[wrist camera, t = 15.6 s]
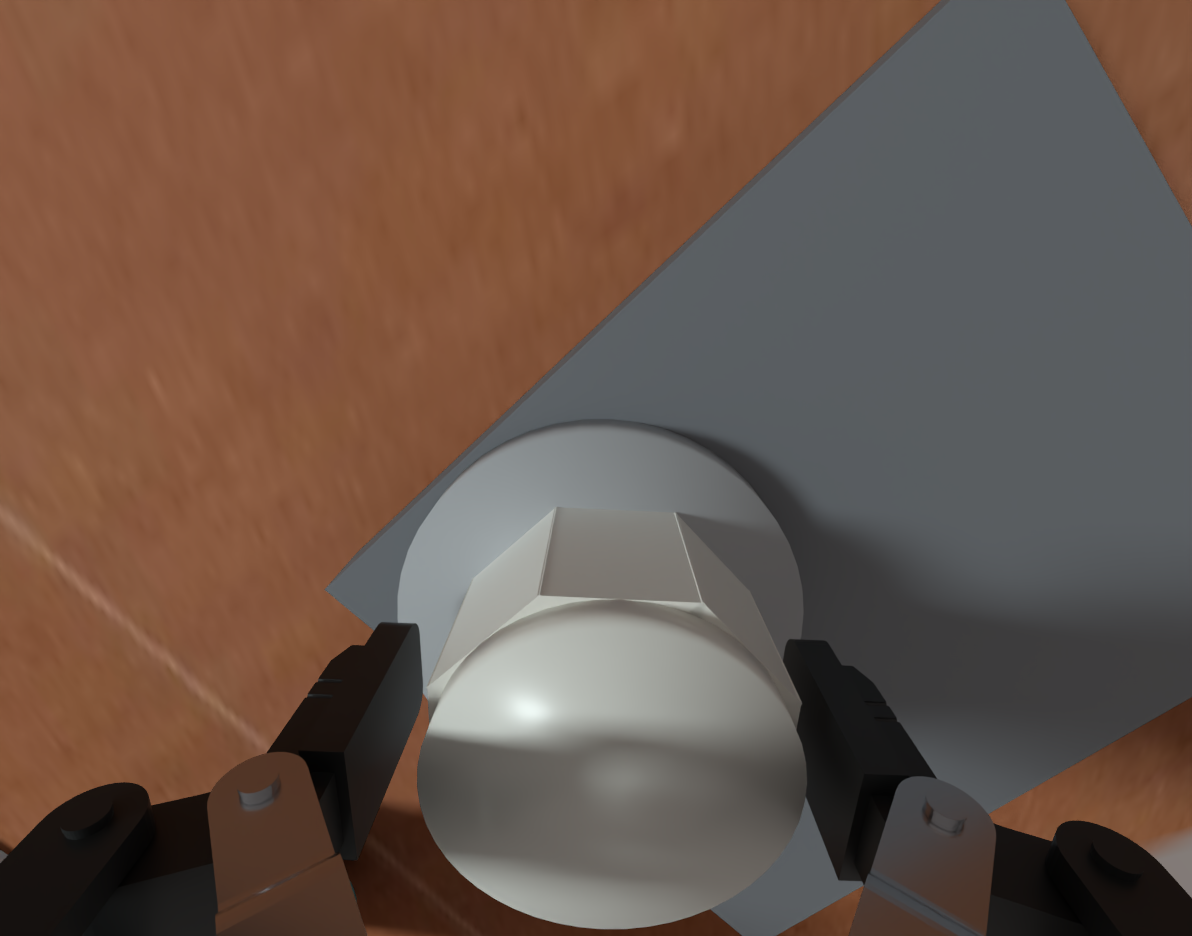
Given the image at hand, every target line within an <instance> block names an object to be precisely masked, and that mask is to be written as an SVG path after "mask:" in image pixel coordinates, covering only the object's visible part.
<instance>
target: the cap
mask: <svg viewBox="0 0 1192 936" xmlns="http://www.w3.org/2000/svg"><path fill="white" fill-rule="evenodd" d="M426 688H427V692H428V709H429V727H428V730H427V733H426V735H425V738H424V741H423V743H422V746H421V751H420V756H419V761H418V767H417V789H418V795H419V802H420V807H421V810H422V813H423V816H424V819H425V822H426V825H427V827H428V829H429V831H430V833H431V835H432V837H433V839H434V841H435V843H436V844H437V845H438V847H439V848H440V850H441V851H442V853H443V854H444V855H445V857H446V858H447V859H448V861H449V862H450V863H451V864H452V865H453V866H454V867H455V868H456V869H457V870H458V871H459V872H460V873H461V874H462V875H463V876H464V877H465V878H466V879H468V880H469V881H470V882H471V883H472V884H474V885H475V886H476V887H477V888H479V889H480V890H482V891H483V892H485V893H486V894H488V895H489V896H491V897H492V898H494V899H496V900H498V901H500V902H502V903H503V904H505V905H507V906H509V907H511V908H513V909H515V910H518V911H521V912H523V913H526V914H528V915H531V916H534V917H536V918H540V919H544V920H547V921H551V922H554V923H559V924H564V925H570V926H575V927H583V928H594V929H631V928H641V927H650V926H655V925H660V924H665V923H670V922H674V921H677V920H681V919H684V918H688V917H691V916H694V915H696V914H699V913H701V912H704V911H706V910H709V909H711V908H713V907H715V906H717V905H719V904H721V903H723V902H725V901H727V900H729V899H730V898H732V897H734V896H735V895H737V894H738V893H740V892H741V891H743V890H744V889H745V888H747V887H748V886H750V885H751V884H752V883H753V882H754V881H756V880H757V879H758V878H759V877H760V876H761V875H763V874H764V873H765V872H766V871H767V870H768V869H769V867H770V866H771V865H772V864H773V863H774V862H775V861H776V860H777V858H778V857H779V856H780V855H781V853H782V852H783V850H784V849H785V847H786V846H787V844H788V843H789V841H790V840H791V838H792V836H793V833H794V831H795V829H796V827H797V825H798V823H799V820H800V817H801V814H802V810H803V807H804V803H805V796H806V788H807V771H806V760H805V756H804V751H803V747H802V743H801V740H800V738H799V736H798V733H797V731H796V729H797V724H798V719H799V713H800V708H801V705H802V702H801V700H800V697H799V695H798V693H797V691H796V689H795V687H794V685H793V682H792V680H791V678H790V676H789V674H788V672H787V670H786V667H785V665H784V663H783V661H782V659H781V657H780V655H779V652H778V650H777V648H776V646H775V644H774V642H773V640H772V637H771V635H770V633H769V631H768V629H767V627H766V625H765V622H764V620H763V618H762V616H761V614H760V612H759V610H758V607H757V605H756V603H755V601H754V599H753V597H752V595H751V592H750V590H748V589H747V588H746V587H745V586H744V585H743V584H742V583H741V582H740V581H739V579H738V578H737V577H736V576H735V575H734V574H733V573H732V572H731V571H730V570H729V569H728V568H727V567H726V566H725V565H724V563H723V562H722V561H721V560H720V559H719V558H718V557H717V556H716V555H715V554H714V553H713V552H712V551H711V550H710V549H709V548H708V546H707V545H706V544H705V543H704V542H703V541H702V540H701V539H700V538H699V537H698V536H697V535H696V534H695V533H694V532H693V531H692V529H691V528H690V527H689V526H688V525H687V524H686V523H685V522H684V521H683V520H682V519H681V518H680V517H679V516H678V515H677V513H676V512H674V513H672V512H650V511H628V510H606V509H584V508H562V507H555V508H554V509H553V510H552V511H551V512H550V513H549V514H547V515H546V516H545V517H544V518H543V519H542V520H540V521H539V522H538V523H537V524H536V525H535V526H533V527H532V528H531V529H530V530H529V531H528V532H526V533H525V534H524V535H523V536H522V537H521V538H519V539H518V540H517V541H516V542H515V543H514V544H512V545H511V546H510V547H509V548H508V549H507V550H506V551H504V552H503V553H502V554H501V555H500V556H499V557H497V558H496V559H495V560H494V561H493V562H492V563H490V564H489V565H488V566H487V567H486V568H485V569H483V570H482V571H481V572H480V573H479V574H478V575H476V576H475V577H474V578H473V579H472V581H471V583H470V585H469V588H468V590H467V593H466V595H465V597H464V600H463V602H462V604H461V607H460V609H459V611H458V614H457V616H456V619H455V621H454V623H453V626H452V628H451V630H450V633H449V635H448V637H447V640H446V642H445V645H444V647H443V649H442V652H441V654H440V656H439V659H438V661H437V664H436V666H435V668H434V671H433V673H432V675H431V678H430V680H429V682H428V685H427V687H426Z"/></svg>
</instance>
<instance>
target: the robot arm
mask: <svg viewBox="0 0 1192 936" xmlns="http://www.w3.org/2000/svg"><path fill="white" fill-rule="evenodd" d="M783 663H784V665H785V667H786V670H787V672H788V674H789V676H790V678H791V680H792V682H793V685H794V687H795V689H796V691H797V693H798V695H799V697H800V700H801V702H802V705H801V708H800V713H799V719H798V724H797V729H796V731H797V733H798V736H799V738H800V740H801V743H802V747H803V751H804V756H805V760H806V771H807V788H806V799H807V801H808V804H809V806H810V809H811V811H812V814H813V817H814V819H815V822H816V824H817V827H818V829H819V832H820V834H821V837H822V840H823V842H824V845H825V847H826V850H827V852H828V855H829V857H830V860H831V863H832V865H833V868H834V870H835V873H836V875H837V878H838V881H862V882H863V885H864V888H863V891H862V894H861V898H860V901H859V904H858V907H857V910H856V913H855V916H854V920H853V923H852V926H851V929H850V932H849V935H848V936H1192V898H1191V897H1190V896H1189V895H1188V894H1187V893H1186V891H1185V890H1184V889H1183V888H1182V887H1181V886H1180V885H1179V884H1178V882H1177V881H1176V880H1175V879H1174V878H1173V877H1172V876H1171V875H1170V874H1169V873H1168V871H1167V870H1166V869H1165V868H1164V867H1163V866H1162V865H1161V864H1160V863H1159V862H1158V861H1157V860H1156V859H1155V858H1154V857H1153V856H1152V855H1150V854H1149V853H1148V852H1147V851H1146V850H1144V849H1143V848H1142V847H1140V846H1139V845H1138V844H1136V843H1134V842H1133V841H1131V840H1130V839H1128V838H1126V837H1125V836H1123V835H1121V834H1119V833H1117V832H1115V831H1113V830H1111V829H1108V828H1106V827H1103V826H1100V825H1098V824H1094V823H1090V822H1085V821H1068V822H1065V823H1063V824H1061V825H1060V826H1059V827H1058V828H1057V831H1056V833H1055V836H1054V838H1053V841H1049V840H1045V839H1042V838H1039V837H1035V836H1032V835H1029V834H1025V833H1022V832H1018V831H1015V830H1012V829H1008V828H1005V827H1002V826H999V825H996V824H994V823H993V822H992V820H991V818H990V816H989V815H988V814H987V812H986V811H985V810H984V809H983V807H982V806H981V805H980V804H979V803H978V802H977V801H976V800H974V799H973V798H972V797H971V796H969V795H968V794H967V793H965V792H964V791H962V790H961V789H959V788H957V787H955V786H953V785H951V784H949V783H947V782H944V781H942V780H939V779H937V777H936V776H935V774H934V773H933V771H932V770H931V768H930V767H929V765H928V764H927V762H926V761H925V759H924V758H923V756H922V755H921V753H920V752H919V750H918V749H917V747H916V746H915V744H914V743H913V741H912V740H911V738H910V737H909V735H908V734H907V732H906V731H905V729H904V728H903V726H902V725H901V723H900V722H897V717H896V716H895V714H894V713H893V711H892V710H891V708H890V707H889V706H887V705H886V701H885V699H884V698H883V696H882V695H881V693H880V692H879V690H878V689H877V687H876V686H875V684H874V683H873V682H872V681H871V680H870V679H868V678H867V677H866V676H865V675H863V674H862V673H861V672H860V671H859V670H857V669H856V668H855V667H854V666H845V665H841V663H840V661H839V660H838V658H837V656H836V655H835V653H834V652H833V650H832V648H831V647H830V645H829V644H828V642H827V641H825V640H803V639H789V640H788V641H787V643H786V646H785V651H784V656H783ZM422 694H423V676H422V661H421V646H420V632H419V627H418V625H417V624H416V623H395V622H381V623H379V624H378V626H377V627H376V629H375V630H374V632H373V633H372V635H371V637H370V638H369V640H368V641H367V643H366V644H365V646H361V645H352V646H350V647H349V648H347V649H346V650H345V651H343V652H342V653H341V654H339V655H338V656H337V657H335V658H334V659H332V660H331V661H330V663H329V664H328V666H327V667H326V669H325V670H324V671H323V673H322V674H321V676H320V677H319V679H318V682H316V683H315V684H314V686H313V687H312V689H311V690H310V691H309V693H308V697H307V698H305V699H304V700H303V701H302V703H301V704H300V706H299V707H298V709H297V710H296V712H295V713H294V714H293V716H292V717H291V719H290V720H289V722H288V723H287V724H286V726H285V727H284V729H283V730H282V732H281V733H280V734H279V736H278V737H277V739H276V740H275V742H274V743H273V745H272V746H271V747H270V749H269V750H268V752H267V753H266V754H262V755H259V756H256V757H253V758H251V759H248V760H246V761H244V762H242V763H241V764H239V765H237V766H236V767H234V768H233V769H231V770H230V771H229V772H227V773H226V774H225V775H224V776H223V777H222V778H221V779H220V780H219V781H218V782H217V783H216V785H215V786H214V787H213V789H212V791H211V792H209V793H205V794H201V795H197V796H193V797H188V798H183V799H179V800H174V801H170V802H165V803H161V804H156V805H152V806H151V803H150V799H149V796H148V793H147V791H146V790H145V789H144V788H143V787H142V786H140V785H138V784H134V783H125V782H123V783H113V784H108V785H104V786H100V787H97V788H94V789H91V790H89V791H86V792H84V793H82V794H80V795H77V796H75V797H74V798H72V799H70V800H68V801H66V802H65V803H63V804H62V805H60V806H59V807H57V808H56V809H55V810H53V811H52V812H51V813H49V814H48V815H47V816H46V817H45V818H44V819H43V820H42V821H41V822H40V823H39V824H38V825H37V826H36V827H35V828H34V829H33V830H32V831H31V832H30V833H29V834H28V835H27V836H26V837H25V838H24V839H23V840H22V841H21V842H20V843H19V844H18V845H17V846H16V847H15V848H14V849H13V850H12V852H11V853H10V854H9V855H8V856H7V857H6V858H5V859H4V860H3V861H2V862H1V863H0V936H367V933H366V930H365V927H364V924H363V921H362V918H361V915H360V911H359V908H358V905H357V902H356V899H355V896H354V893H353V890H352V887H351V884H350V881H349V878H348V874H347V871H346V868H345V865H344V862H343V860H358V858H359V855H360V853H361V851H362V848H363V846H364V843H365V841H366V839H367V836H368V834H369V831H370V829H371V827H372V824H373V822H374V819H375V817H376V815H377V812H378V810H379V807H380V805H381V802H382V800H383V798H384V795H385V793H386V790H387V788H388V786H389V783H390V781H391V778H392V776H393V774H394V771H395V769H396V766H397V764H398V762H399V759H400V757H401V754H402V752H403V750H404V747H405V745H406V742H407V740H408V737H409V735H410V733H411V730H412V728H413V725H414V723H415V721H416V718H417V716H418V713H419V710H420V706H421V701H422Z"/></svg>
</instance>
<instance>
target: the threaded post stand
mask: <svg viewBox="0 0 1192 936" xmlns="http://www.w3.org/2000/svg"><path fill="white" fill-rule="evenodd" d="M555 507H562V508H584V509H606V510H628V511H650V512H672V513H674V512H676V513H677V515H678V516H679V517H680V518H681V519H682V520H683V521H684V522H685V523H686V524H687V525H688V526H689V527H690V528H691V529H692V531H693V532H694V533H695V534H696V535H697V536H698V537H699V538H700V539H701V540H702V541H703V542H704V543H705V544H706V545H707V546H708V548H709V549H710V550H711V551H712V552H713V553H714V554H715V555H716V556H717V557H718V558H719V559H720V560H721V561H722V562H723V563H724V565H725V566H726V567H727V568H728V569H729V570H730V571H731V572H732V573H733V574H734V575H735V576H736V577H737V578H738V579H739V581H740V582H741V583H742V584H743V585H744V586H745V587H746V588H747V589H748V590H750V592H751V595H752V597H753V599H754V601H755V603H756V605H757V607H758V610H759V612H760V614H761V616H762V618H763V620H764V622H765V625H766V627H767V629H768V631H769V633H770V635H771V637H772V640H773V642H774V644H775V646H776V648H777V650H778V652H779V655H780V657H781V659H782V661H783V656H784V651H785V646H786V643H787V641H788V640H789V639H803V640H825V641H827V642H828V644H829V645H830V647H831V648H832V650H833V652H834V653H835V655H836V656H837V658H838V660H839V661H840V663H841V665H845V666H854V667H855V668H856V669H857V670H859V671H860V672H861V673H862V674H863V675H865V676H866V677H867V678H868V679H870V680H871V681H872V682H873V683H874V684H875V686H876V687H877V689H878V690H879V692H880V693H881V695H882V696H883V698H884V699H885V701H886V705H887V706H889V707H890V708H891V710H892V711H893V713H894V714H895V716H896V717H897V722H900V723H901V725H902V726H903V728H904V729H905V731H906V732H907V734H908V735H909V737H910V738H911V740H912V741H913V743H914V744H915V746H916V747H917V749H918V750H919V752H920V753H921V755H922V756H923V758H924V759H925V761H926V762H927V764H928V765H929V767H930V768H931V770H932V771H933V773H934V774H935V776H936V777H937V779H939V780H942V781H944V782H947V783H949V784H951V785H953V786H955V787H957V788H959V789H961V790H962V791H964V792H965V793H967V794H968V795H969V796H971V797H972V798H973V799H974V800H976V801H977V802H978V803H979V804H980V805H981V806H982V807H983V809H984V810H985V811H986V812H987V814H989V813H991V812H992V811H994V810H996V809H998V808H999V807H1001V806H1003V805H1004V804H1006V803H1008V802H1010V801H1011V800H1013V799H1015V798H1017V797H1018V796H1020V795H1022V794H1024V793H1025V792H1027V791H1029V790H1031V789H1032V788H1034V787H1036V786H1038V785H1039V784H1041V783H1043V782H1045V781H1046V780H1048V779H1050V778H1052V777H1053V776H1055V775H1057V774H1058V773H1060V772H1062V771H1064V770H1065V769H1067V768H1069V767H1071V766H1072V765H1074V764H1076V763H1078V762H1079V761H1081V760H1083V759H1085V758H1086V757H1088V756H1090V755H1092V754H1093V753H1095V752H1097V751H1099V750H1100V749H1102V748H1104V747H1106V746H1107V745H1109V744H1111V743H1113V742H1114V741H1116V740H1118V739H1119V738H1121V737H1123V736H1125V735H1126V734H1128V733H1130V732H1132V731H1133V730H1135V729H1137V728H1139V727H1140V726H1142V725H1144V724H1146V723H1147V722H1149V721H1151V720H1153V719H1154V718H1156V717H1158V716H1160V715H1161V714H1163V713H1165V712H1167V711H1168V710H1170V709H1172V708H1173V707H1175V706H1177V705H1179V704H1180V703H1182V702H1184V701H1186V700H1187V699H1189V698H1191V697H1192V226H1191V225H1190V223H1189V221H1188V219H1187V217H1186V216H1185V214H1184V212H1183V210H1182V208H1181V207H1180V205H1179V203H1178V201H1177V200H1176V198H1175V196H1174V194H1173V192H1172V191H1171V189H1170V187H1169V185H1168V183H1167V182H1166V180H1165V178H1164V176H1163V174H1162V173H1161V171H1160V169H1159V167H1158V166H1157V164H1156V162H1155V160H1154V158H1153V157H1152V155H1151V153H1150V151H1149V149H1148V148H1147V146H1146V144H1145V142H1144V140H1143V139H1142V137H1141V135H1140V133H1139V132H1138V130H1137V128H1136V126H1135V124H1134V123H1133V121H1132V119H1131V117H1130V115H1129V114H1128V112H1127V110H1126V108H1125V106H1124V105H1123V103H1122V101H1121V99H1120V98H1119V96H1118V94H1117V92H1116V90H1115V89H1114V87H1113V85H1112V83H1111V81H1110V80H1109V78H1108V76H1107V74H1106V72H1105V71H1104V69H1103V67H1102V65H1101V64H1100V62H1099V60H1098V58H1097V56H1096V55H1095V53H1094V51H1093V49H1092V47H1091V46H1090V44H1089V42H1088V40H1087V38H1086V37H1085V35H1084V33H1083V31H1082V30H1081V28H1080V26H1079V24H1078V22H1077V21H1076V19H1075V17H1074V15H1073V13H1072V12H1071V10H1070V8H1069V6H1068V4H1067V3H1066V1H1065V0H941V1H940V2H939V3H938V4H937V5H936V6H935V7H934V8H933V9H932V10H931V11H930V12H928V13H927V14H926V15H925V16H924V17H923V18H922V19H921V20H920V21H919V22H918V23H917V24H916V25H915V26H914V27H913V28H912V29H911V30H909V31H908V32H907V33H906V34H905V35H904V36H903V37H902V38H901V39H900V40H899V41H898V42H897V43H896V44H895V45H894V46H893V47H891V48H890V49H889V50H888V51H887V52H886V53H885V54H884V55H883V56H882V57H881V58H880V59H879V60H878V61H877V62H876V63H875V64H873V65H872V66H871V67H870V68H869V69H868V70H867V71H866V72H865V73H864V74H863V75H862V76H861V77H860V78H859V79H858V80H857V81H856V82H854V83H853V84H852V85H851V86H850V87H849V88H848V89H847V90H846V91H845V92H844V93H843V94H842V95H841V96H840V97H839V98H838V99H836V100H835V101H834V102H833V103H832V104H831V105H830V106H829V107H828V108H827V109H826V110H825V111H824V112H823V113H822V114H821V115H820V116H819V117H817V118H816V119H815V120H814V121H813V122H812V123H811V124H810V125H809V126H808V127H807V128H806V129H805V130H804V131H803V132H802V133H801V134H799V135H798V136H797V137H796V138H795V139H794V140H793V141H792V142H791V143H790V144H789V145H788V146H787V147H786V148H785V149H784V150H783V151H781V152H780V153H779V154H778V155H777V156H776V157H775V158H774V159H773V160H772V161H771V162H770V163H769V164H768V165H767V166H766V167H765V168H764V169H762V170H761V171H760V172H759V173H758V174H757V175H756V176H755V177H754V178H753V179H752V180H751V181H750V182H749V183H748V184H747V185H746V186H744V187H743V188H742V189H741V190H740V191H739V192H738V193H737V194H736V195H735V196H734V197H733V198H732V199H731V200H730V201H729V202H728V203H726V204H725V205H724V206H723V207H722V208H721V209H720V210H719V211H718V212H717V213H716V214H715V215H714V216H713V217H712V218H711V219H710V220H709V221H707V222H706V223H705V224H704V225H703V226H702V227H701V228H700V229H699V230H698V231H697V232H696V233H695V234H694V235H693V236H692V237H691V238H689V239H688V240H687V241H686V242H685V243H684V244H683V245H682V246H681V247H680V248H679V249H678V250H677V251H676V252H675V253H674V254H673V255H671V256H670V257H669V258H668V259H667V260H666V261H665V262H664V263H663V264H662V265H661V266H660V267H659V268H658V269H657V270H656V271H655V272H654V273H652V274H651V275H650V276H649V277H648V278H647V279H646V280H645V281H644V282H643V283H642V284H641V285H640V286H639V287H638V288H637V289H636V290H634V291H633V292H632V293H631V294H630V295H629V296H628V297H627V298H626V299H625V300H624V301H623V302H622V303H621V304H620V305H619V306H618V307H616V308H615V309H614V310H613V311H612V312H611V313H610V314H609V315H608V316H607V317H606V318H605V319H604V320H603V321H602V322H601V323H600V324H599V325H597V326H596V327H595V328H594V329H593V330H592V331H591V332H590V333H589V334H588V335H587V336H586V337H585V338H584V339H583V340H582V341H581V342H579V343H578V344H577V345H576V346H575V347H574V348H573V349H572V350H571V351H570V352H569V353H568V354H567V355H566V356H565V357H564V358H563V359H561V360H560V361H559V362H558V363H557V364H556V365H555V366H554V367H553V368H552V369H551V370H550V371H549V372H548V373H547V374H546V375H545V376H544V377H542V378H541V379H540V380H539V381H538V382H537V383H536V384H535V385H534V386H533V387H532V388H531V389H530V390H529V391H528V392H527V393H526V394H524V395H523V396H522V397H521V398H520V399H519V400H518V401H517V402H516V403H515V404H514V405H513V406H512V407H511V408H510V409H509V410H508V411H507V412H505V413H504V414H503V415H502V416H501V417H500V418H499V419H498V420H497V421H496V422H495V423H494V424H493V425H492V426H491V427H490V428H489V429H487V430H486V431H485V432H484V433H483V434H482V435H481V436H480V437H479V438H478V439H477V440H476V441H475V442H474V443H473V444H472V445H471V446H469V447H468V448H467V449H466V450H465V451H464V452H463V453H462V454H461V455H460V456H459V457H458V458H457V459H456V460H455V461H454V462H453V463H452V464H450V465H449V466H448V467H447V468H446V469H445V470H444V471H443V472H442V473H441V474H440V475H439V476H438V477H437V478H436V479H435V480H434V481H432V482H431V483H430V484H429V485H428V486H427V487H426V488H425V489H424V490H423V491H422V492H421V493H420V494H419V495H418V496H417V497H416V498H414V499H413V500H412V501H411V502H410V503H409V504H408V505H407V506H406V507H405V508H404V509H403V510H402V511H401V512H400V513H399V514H398V515H397V516H395V517H394V518H393V519H392V520H391V521H390V522H389V523H388V524H387V525H386V526H385V527H384V528H383V529H382V530H381V531H380V532H379V533H377V534H376V535H375V536H374V537H373V538H372V539H371V540H370V541H369V542H368V543H367V544H366V545H365V546H364V547H363V548H362V549H361V550H359V551H358V552H357V553H356V554H355V556H354V557H353V558H352V559H351V560H350V561H349V562H348V564H347V565H346V566H345V567H344V568H343V569H342V570H341V572H340V573H339V574H338V575H337V576H336V577H335V578H334V580H333V581H332V582H331V583H330V584H329V585H328V586H327V588H326V589H325V590H326V591H327V592H328V593H329V594H331V595H332V596H333V597H334V598H335V599H337V600H338V601H339V602H340V603H341V604H343V605H344V606H345V607H346V608H347V609H349V610H350V611H351V612H352V613H353V614H355V615H356V616H357V617H358V618H359V619H361V620H362V621H363V622H364V623H366V624H367V625H368V626H369V627H370V628H372V629H373V630H375V629H376V627H377V626H378V624H379V623H381V622H395V623H416V624H417V625H418V627H419V632H420V646H421V661H422V676H423V694H424V695H425V697H426V698H427V700H428V692H427V688H426V687H427V685H428V682H429V680H430V678H431V675H432V673H433V671H434V668H435V666H436V664H437V661H438V659H439V656H440V654H441V652H442V649H443V647H444V645H445V642H446V640H447V637H448V635H449V633H450V630H451V628H452V626H453V623H454V621H455V619H456V616H457V614H458V611H459V609H460V607H461V604H462V602H463V600H464V597H465V595H466V593H467V590H468V588H469V585H470V583H471V581H472V579H473V578H474V577H475V576H476V575H478V574H479V573H480V572H481V571H482V570H483V569H485V568H486V567H487V566H488V565H489V564H490V563H492V562H493V561H494V560H495V559H496V558H497V557H499V556H500V555H501V554H502V553H503V552H504V551H506V550H507V549H508V548H509V547H510V546H511V545H512V544H514V543H515V542H516V541H517V540H518V539H519V538H521V537H522V536H523V535H524V534H525V533H526V532H528V531H529V530H530V529H531V528H532V527H533V526H535V525H536V524H537V523H538V522H539V521H540V520H542V519H543V518H544V517H545V516H546V515H547V514H549V513H550V512H551V511H552V510H553V509H554V508H555ZM862 886H863V882H862V881H838V878H837V875H836V873H835V870H834V868H833V865H832V863H831V860H830V857H829V855H828V852H827V850H826V847H825V845H824V842H823V840H822V837H821V834H820V832H819V829H818V827H817V824H816V822H815V819H814V817H813V814H812V811H811V809H810V806H809V804H808V801H807V799H806V796H805V803H804V807H803V810H802V814H801V817H800V820H799V823H798V825H797V827H796V829H795V831H794V833H793V836H792V838H791V840H790V841H789V843H788V844H787V846H786V847H785V849H784V850H783V852H782V853H781V855H780V856H779V857H778V858H777V860H776V861H775V862H774V863H773V864H772V865H771V866H770V867H769V869H768V870H767V871H766V872H765V873H764V874H763V875H761V876H760V877H759V878H758V879H757V880H756V881H754V882H753V883H752V884H751V885H750V886H748V887H747V888H745V889H744V890H743V891H741V892H740V893H738V894H737V895H735V896H734V897H732V898H730V899H729V900H727V901H725V902H723V903H721V904H719V905H717V906H715V907H713V908H711V910H712V911H713V912H714V913H715V914H717V915H718V916H719V917H720V918H722V919H723V920H724V921H725V922H726V923H728V924H729V925H730V926H731V927H732V928H734V929H735V930H736V931H737V932H738V933H740V934H741V935H742V936H776V935H778V934H780V933H781V932H783V931H785V930H787V929H788V928H790V927H792V926H794V925H795V924H797V923H799V922H801V921H802V920H804V919H806V918H808V917H809V916H811V915H813V914H815V913H816V912H818V911H820V910H822V909H823V908H825V907H827V906H828V905H830V904H832V903H834V902H835V901H837V900H839V899H841V898H842V897H844V896H846V895H848V894H849V893H851V892H853V891H855V890H856V889H858V888H860V887H862Z"/></svg>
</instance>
